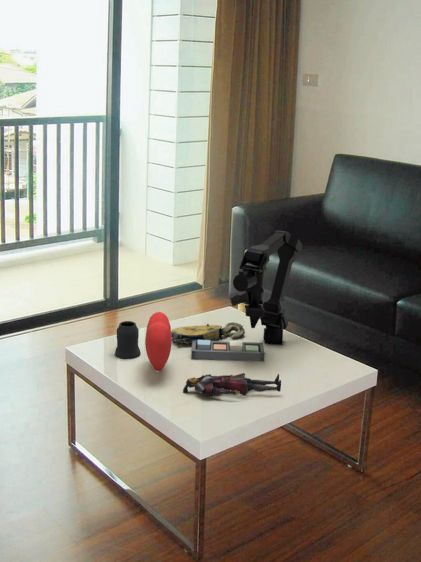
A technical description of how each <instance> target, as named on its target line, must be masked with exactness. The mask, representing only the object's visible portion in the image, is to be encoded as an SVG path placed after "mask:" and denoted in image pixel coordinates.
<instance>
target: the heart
mask: <svg viewBox="0 0 421 562" xmlns="http://www.w3.org/2000/svg"><path fill="white" fill-rule="evenodd" d="M171 332H172V327H171V323H170V320H169V316H167V315H166V314H165V313H164V312H162V311H161V312H160V311H157V312H155V313H153V314H152V315H151V316H150V317H149V319H148V323H147V326H146V329H145V340H144V341H145V342H144V344H145V352H146V356H147V360H148V362H149V363H150V365H151V367H152V368H153V370H154V371H156V372H157V373H159V372H162V370H163V369H164V367H166V364H167V363H168V360H169V358H170V355H171V351H172V344H173V341H172V339H173V338H172V334H171Z"/></svg>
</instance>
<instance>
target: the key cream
mask: <svg viewBox="0 0 421 562" xmlns="http://www.w3.org/2000/svg"><path fill="white" fill-rule="evenodd" d="M229 342H230V347H229V348H230V351H242V348H243V344H242V342H243V341H242V340H229Z"/></svg>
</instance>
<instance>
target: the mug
mask: <svg viewBox="0 0 421 562" xmlns="http://www.w3.org/2000/svg"><path fill="white" fill-rule="evenodd" d="M139 332H140V331H139V328H138V326H137V323H136V322H134V321H130V320H126V321H125V320H124V321H121V322H120V323H119V325H118V326H117V328H116V348H115V351H114V356H115V357H116V358H118V359H121V360H134V359H137V358H139V357H141V354H142V353H141V349H140V346H139V335H140V334H139Z"/></svg>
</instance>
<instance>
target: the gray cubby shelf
mask: <svg viewBox="0 0 421 562" xmlns="http://www.w3.org/2000/svg"><path fill="white" fill-rule="evenodd" d="M197 344H198V341H197V340H193V342H192V344H191V355H190V356H191V359H190V360H204V361H205V360H207V361H233V362H236V361H238V362H239V361H240V362H263V363H265V356H266V355H265V347H264V343H263V342H256V341H255V342H253V341H251V342H250V341H244V342H243V341H242V344H243V348H242V351H230V348H229V347H230V341H223V340H213V341H210V350H197ZM214 344H221V345H226V351H215V350H213V349H214ZM245 345H251V346H258V350H259V352H245Z"/></svg>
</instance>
